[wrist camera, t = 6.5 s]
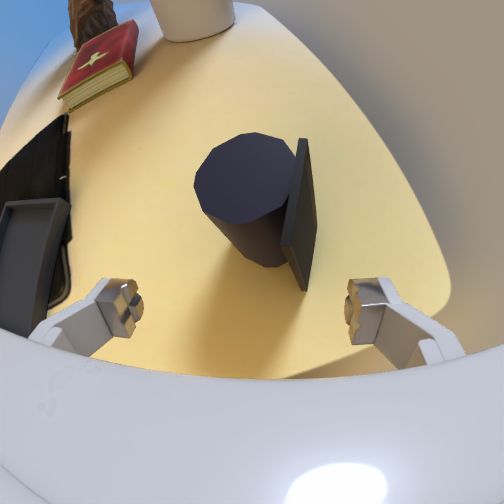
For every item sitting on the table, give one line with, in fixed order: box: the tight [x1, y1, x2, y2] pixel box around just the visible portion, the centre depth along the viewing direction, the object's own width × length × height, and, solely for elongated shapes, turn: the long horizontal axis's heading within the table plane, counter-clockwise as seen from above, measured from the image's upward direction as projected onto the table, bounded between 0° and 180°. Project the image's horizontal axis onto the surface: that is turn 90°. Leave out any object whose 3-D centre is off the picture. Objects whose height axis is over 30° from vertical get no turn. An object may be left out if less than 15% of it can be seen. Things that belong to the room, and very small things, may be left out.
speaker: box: [194, 132, 317, 292], centre depth 16 cm, size 8×6×10 cm
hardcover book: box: [57, 19, 139, 113], centre depth 32 cm, size 12×21×4 cm, turn 15°
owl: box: [68, 0, 118, 52], centre depth 31 cm, size 13×13×20 cm
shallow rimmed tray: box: [0, 198, 71, 339], centre depth 22 cm, size 17×14×2 cm
